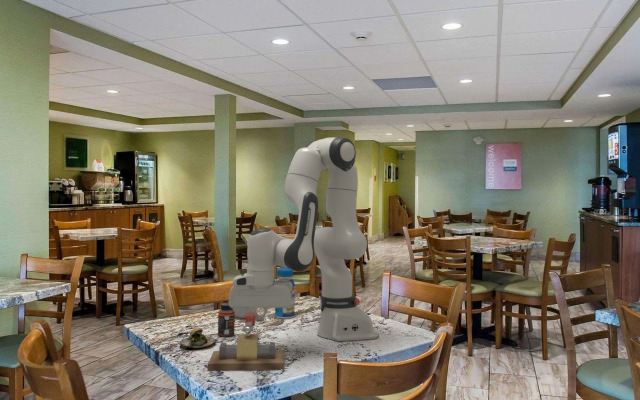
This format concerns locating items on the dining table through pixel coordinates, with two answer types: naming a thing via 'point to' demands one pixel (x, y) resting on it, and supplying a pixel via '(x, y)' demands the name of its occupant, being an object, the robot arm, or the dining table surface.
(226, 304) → the supplement bottle
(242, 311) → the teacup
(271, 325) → the dining table surface
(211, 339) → the burger
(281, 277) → the beverage bottle
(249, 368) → the board
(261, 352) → the brass valve
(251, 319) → the valve lever
